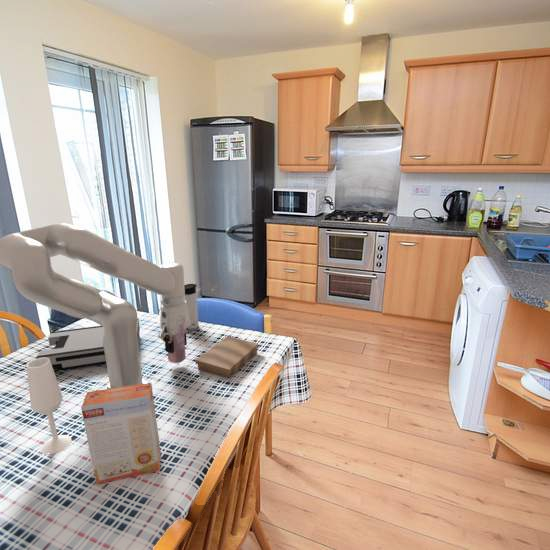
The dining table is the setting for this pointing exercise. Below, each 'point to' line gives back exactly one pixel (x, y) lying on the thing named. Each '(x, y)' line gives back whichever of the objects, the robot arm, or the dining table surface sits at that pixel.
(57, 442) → the champagne flute
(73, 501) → the dining table surface
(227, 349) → the brown flat block
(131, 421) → the cracker box
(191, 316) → the travel mug
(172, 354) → the beverage can
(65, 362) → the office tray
